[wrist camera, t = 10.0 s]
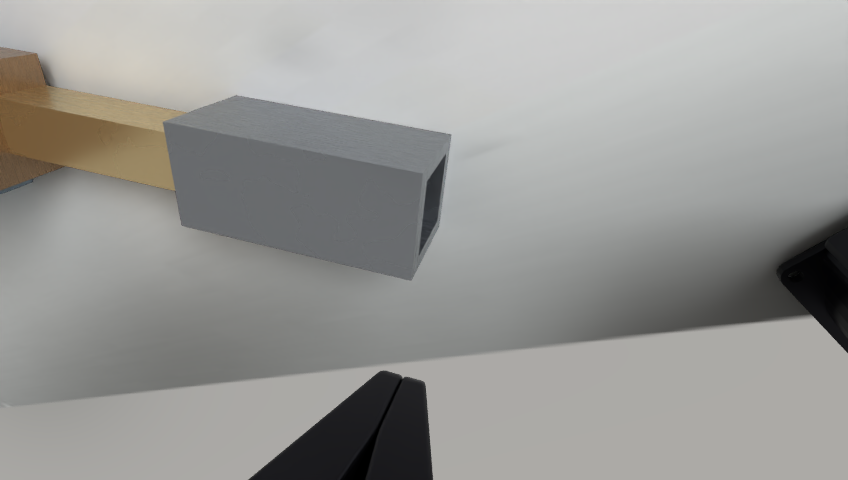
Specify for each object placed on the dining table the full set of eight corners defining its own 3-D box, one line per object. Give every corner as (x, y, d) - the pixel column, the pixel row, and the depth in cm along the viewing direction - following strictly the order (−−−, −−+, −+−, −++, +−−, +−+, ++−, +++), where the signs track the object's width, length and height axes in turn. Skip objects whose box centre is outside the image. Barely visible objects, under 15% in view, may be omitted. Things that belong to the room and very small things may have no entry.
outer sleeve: (451, 134, 20) (423, 173, 16) (438, 226, 22) (411, 280, 18) (236, 95, 21) (162, 121, 17) (245, 184, 23) (181, 225, 20)
